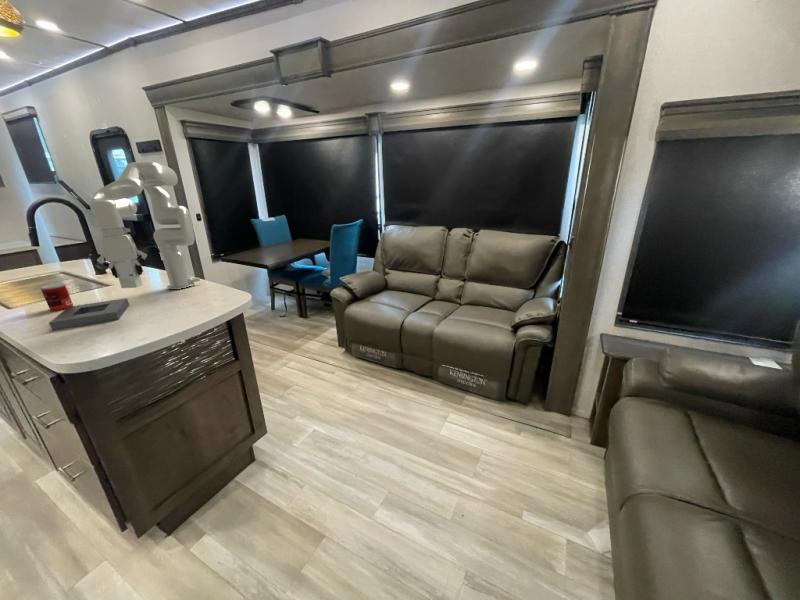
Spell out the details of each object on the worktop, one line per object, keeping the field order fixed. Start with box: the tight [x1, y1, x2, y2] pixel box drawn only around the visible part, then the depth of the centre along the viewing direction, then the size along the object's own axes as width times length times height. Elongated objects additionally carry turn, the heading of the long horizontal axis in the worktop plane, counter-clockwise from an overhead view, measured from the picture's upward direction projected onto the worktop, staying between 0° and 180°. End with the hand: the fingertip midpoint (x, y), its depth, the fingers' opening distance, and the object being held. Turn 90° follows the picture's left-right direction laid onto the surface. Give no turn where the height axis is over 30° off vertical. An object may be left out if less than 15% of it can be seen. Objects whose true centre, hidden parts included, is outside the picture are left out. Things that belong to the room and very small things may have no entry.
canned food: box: [40, 282, 74, 312], centre depth 144 cm, size 8×8×11 cm
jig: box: [48, 297, 130, 332], centre depth 133 cm, size 20×20×4 cm
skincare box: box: [114, 259, 143, 289], centre depth 130 cm, size 6×4×12 cm
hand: (129, 275), depth 131 cm, fingers closed on skincare box, 7 cm apart
